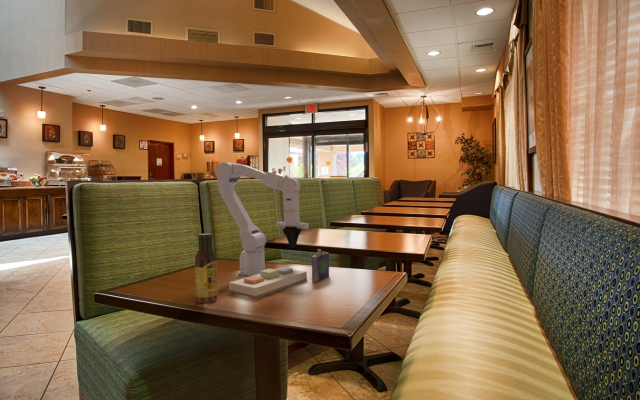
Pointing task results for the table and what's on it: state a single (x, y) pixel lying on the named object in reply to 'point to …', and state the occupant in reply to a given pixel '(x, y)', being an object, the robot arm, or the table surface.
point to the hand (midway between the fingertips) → (292, 247)
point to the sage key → (269, 273)
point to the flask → (320, 266)
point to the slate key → (285, 270)
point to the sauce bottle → (206, 270)
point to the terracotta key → (253, 280)
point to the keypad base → (267, 284)
